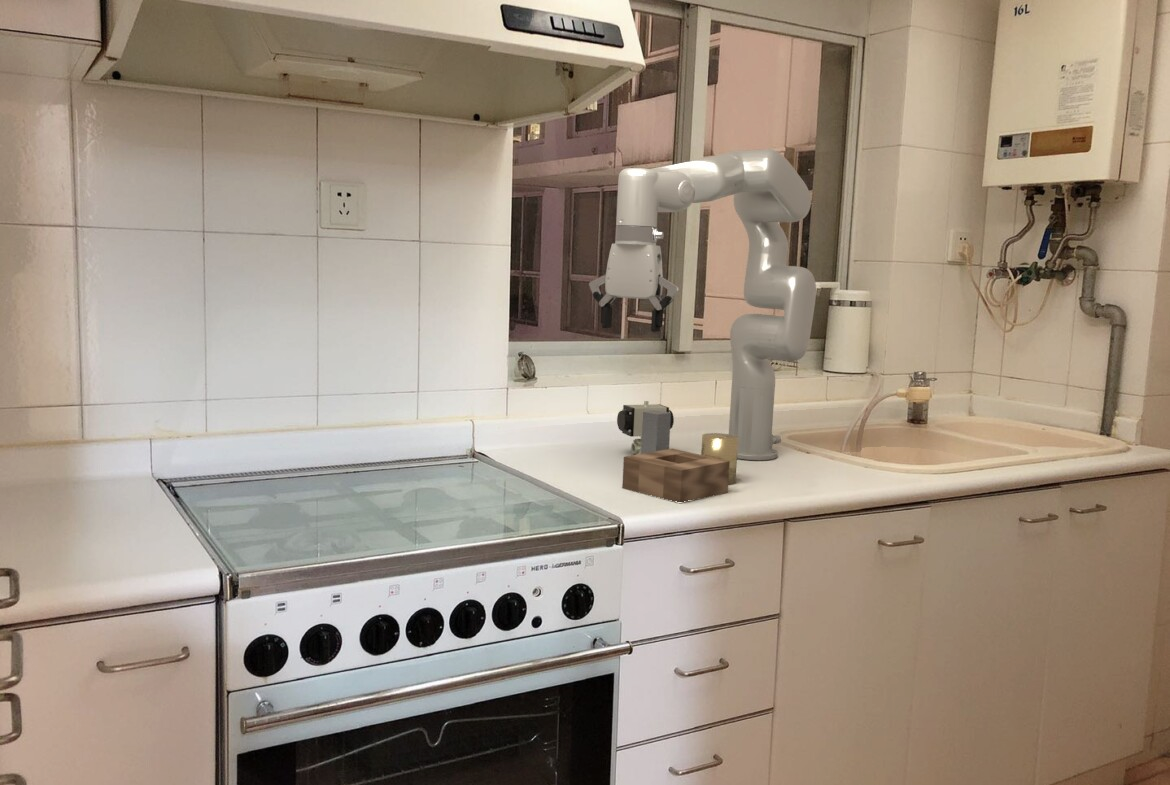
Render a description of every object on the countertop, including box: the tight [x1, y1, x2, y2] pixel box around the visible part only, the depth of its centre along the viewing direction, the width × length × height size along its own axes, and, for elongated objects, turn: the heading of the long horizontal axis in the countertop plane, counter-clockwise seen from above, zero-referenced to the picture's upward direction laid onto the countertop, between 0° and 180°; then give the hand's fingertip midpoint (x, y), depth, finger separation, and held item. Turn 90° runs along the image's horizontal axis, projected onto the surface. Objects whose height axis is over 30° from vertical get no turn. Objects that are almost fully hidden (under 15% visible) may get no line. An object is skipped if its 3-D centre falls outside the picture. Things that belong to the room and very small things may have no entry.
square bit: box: [641, 410, 671, 454], centre depth 200 cm, size 4×4×12 cm
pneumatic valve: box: [616, 400, 675, 455], centre depth 215 cm, size 6×12×12 cm, turn 112°
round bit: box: [700, 432, 738, 486], centre depth 192 cm, size 7×7×9 cm
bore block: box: [621, 448, 730, 503], centre depth 184 cm, size 14×14×6 cm
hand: (630, 329), depth 183 cm, fingers open, 9 cm apart
